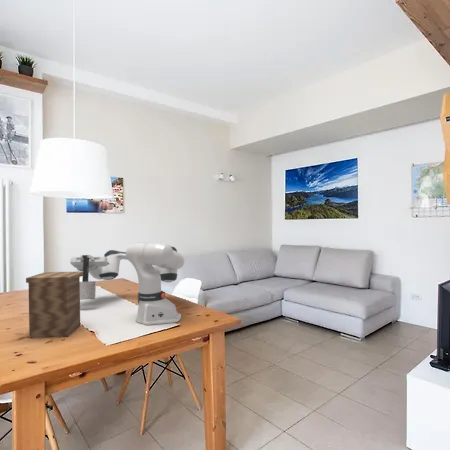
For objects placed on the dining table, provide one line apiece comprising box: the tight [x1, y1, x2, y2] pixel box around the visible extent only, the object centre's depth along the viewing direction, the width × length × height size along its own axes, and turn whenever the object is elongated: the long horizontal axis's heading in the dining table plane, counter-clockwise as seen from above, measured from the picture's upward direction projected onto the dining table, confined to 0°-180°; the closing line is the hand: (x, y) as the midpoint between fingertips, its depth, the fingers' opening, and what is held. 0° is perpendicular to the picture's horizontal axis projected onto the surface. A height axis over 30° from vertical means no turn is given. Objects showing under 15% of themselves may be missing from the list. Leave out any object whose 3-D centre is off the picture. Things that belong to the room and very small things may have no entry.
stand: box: [25, 270, 83, 339], centre depth 143 cm, size 18×16×26 cm
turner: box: [80, 254, 97, 301], centre depth 179 cm, size 11×25×2 cm
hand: (85, 256), depth 179 cm, fingers closed on turner, 2 cm apart
